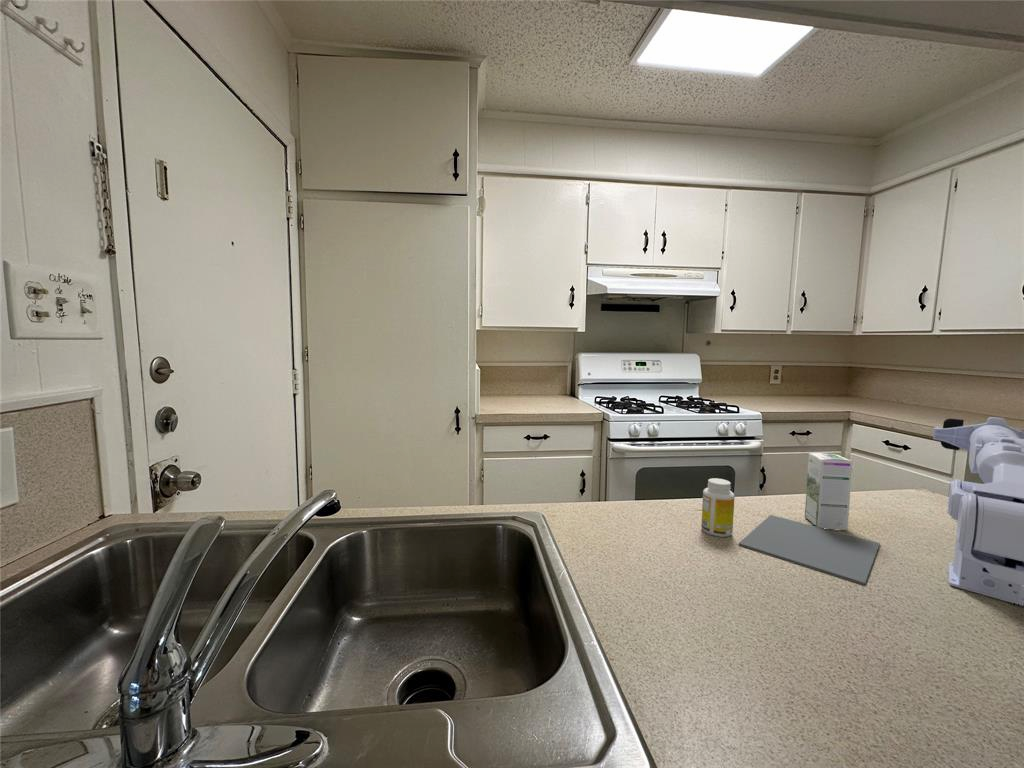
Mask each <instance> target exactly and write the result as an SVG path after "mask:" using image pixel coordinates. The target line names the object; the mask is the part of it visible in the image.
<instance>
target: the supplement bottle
mask: <svg viewBox="0 0 1024 768" xmlns="http://www.w3.org/2000/svg"><path fill="white" fill-rule="evenodd" d="M731 484H732V483H731V482H730V481H729V480H727V479H723V478H716V477H715V478H713V477H712V478H709V479H707V487H705V488H704V489H703V490H702V505H701V506H702V507H701V509H702V510H701V530H702V531H703V532H705V533H706V534H708V535H710V536H713V537H719V538H725V537H726V538H727V537H729V536H731V535H732V534H733V530H734V528H733V527H734V515H735V513H734V512H735V493H734V492H732V490H731V489H732V488H731V486H732V485H731Z"/></svg>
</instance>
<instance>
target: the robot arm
mask: <svg viewBox="0 0 1024 768" xmlns="http://www.w3.org/2000/svg"><path fill="white" fill-rule="evenodd" d="M964 421H965V420H964V419H961V418H960V419H959V418H946V419H945V420H944V421H943V423H942V427H937V426H936V427H935V426H934V428H933V437H932V439H933V440H935V441H940V445H941V446H942V447H943V448H944V449H947V450H954V451H960V449H962V450H965V451H968V452H969V453H968V454H969V455H968V466H969V470H970V473H971V474H978V475H979V478H980V480H981V481H982V482H983V483H979V482H973V481H972V482H971V481H966V480H961V479H959V478H955V479H954V480H952V481H950V483H949V488H948V499H947V515H949V516H950V517H951V519H953V520H954V521H956V522H957V527H956V535H955V542H954V543H955V544H954V553H953V562H950V561H949V563H948V584H949V585H950V586H953V587H956V588H959V589H962V590H966V591H969V592H973V593H976V594H980V595H984V596H986V597H990V598H994V599H997V600H1001V601H1005V602H1008V603H1011V604H1014V603H1015V605H1018V604H1019V606H1021V607H1024V430H1023V429H1017V428H1014V427H1011V426H1010V425H1007V419H1005V418H1004V417H1003V418H1002V417H994V416H990V417H988V418H987V420H986V422H985V423H984V422H983V423H977V424H971V425H964Z"/></svg>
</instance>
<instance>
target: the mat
mask: <svg viewBox="0 0 1024 768" xmlns="http://www.w3.org/2000/svg"><path fill="white" fill-rule="evenodd" d="M738 546H739V547H742V548H746V549H749V550H752V551H756V552H759V553H761V554H765V555H768V556H771V557H775V558H778V559H781V560H783V561H787V562H790V563H794V564H796V565H800V566H803V567H806V568H809V569H812V570H816V571H818V572H822V573H825V574H828V575H831V576H835V577H837V578H840V579H843V580H847V581H850V582H854V583H856V584H859V585H863V586H866V583H867V581H868V578H869V575H870V572H871V571H872V570H871V569H872V567H873V563H874V561H875V559H876V556H877V554H876V553H878V551H877V550H879V547H880V542H877V541H874V540H870V539H866V538H863V537H857V536H855V535H850V534H846V533H842V532H839V531H836V530H829V529H824V528H820V527H816V526H814V525H813V524H812V525H811V524H809V523H808V524H807V523H803V522H800V521H795V520H792V519H788V518H784V517H780V516H776V515H774V514H773V515H772V514H770V515H768V517H766V518H765V519H764V520H763V521H762V522H761V523H760V524H758V525H757V526H756V527H755V528H754V529H752V531H750V532H749V533H748V534H747V535H746V536H745V537H743V539H741V541H739V542H738Z"/></svg>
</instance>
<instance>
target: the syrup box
mask: <svg viewBox="0 0 1024 768" xmlns="http://www.w3.org/2000/svg"><path fill="white" fill-rule="evenodd" d="M807 460H808V462H807V477H806V491H805V492H806V493H805V509H804V518H805V519H806V520H807V519H808V520H809V521H808V520H807V521H808V522H809V523H810V524H812V526H814V525H815V526H816V527H820V528H829V529H839V530H838V531H841V530H847V531H848V529H849V515H850V501H851V499H850V498H851V488H852V487H851V486H852V472H853V471H852V470H853V461H852V460H851V459H848V458H846V457H843V456H842V455H839V454H836V453H830V452H808V459H807ZM829 529H828V530H829Z"/></svg>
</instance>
